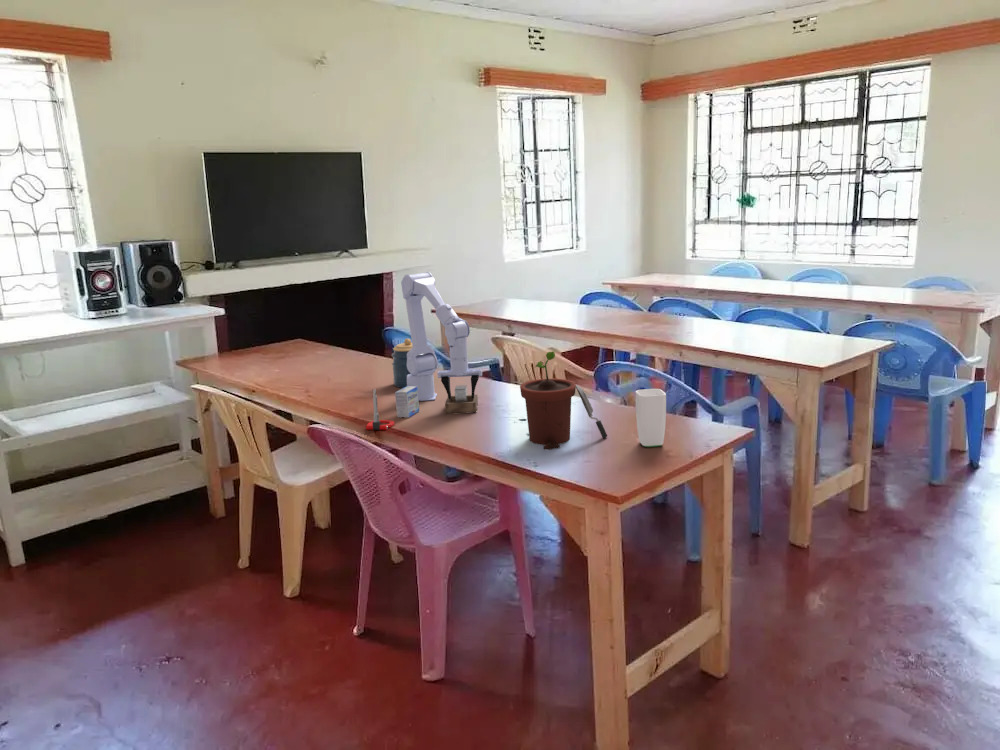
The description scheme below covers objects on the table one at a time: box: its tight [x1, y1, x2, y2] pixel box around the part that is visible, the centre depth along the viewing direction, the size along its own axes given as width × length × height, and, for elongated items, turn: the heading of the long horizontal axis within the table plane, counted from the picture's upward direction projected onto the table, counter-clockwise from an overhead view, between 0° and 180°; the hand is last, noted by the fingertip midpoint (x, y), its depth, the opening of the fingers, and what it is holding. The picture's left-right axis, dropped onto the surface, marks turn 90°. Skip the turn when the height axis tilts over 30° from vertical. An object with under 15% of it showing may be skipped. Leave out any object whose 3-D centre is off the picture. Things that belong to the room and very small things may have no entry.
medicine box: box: [394, 386, 420, 419], centre depth 256 cm, size 8×4×9 cm, turn 160°
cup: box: [635, 388, 667, 448], centre depth 214 cm, size 7×7×15 cm
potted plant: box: [519, 350, 608, 450], centre depth 221 cm, size 18×22×25 cm
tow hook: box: [365, 388, 396, 431], centre depth 245 cm, size 8×13×9 cm
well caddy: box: [444, 394, 479, 415], centre depth 260 cm, size 10×10×4 cm
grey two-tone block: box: [454, 384, 468, 402], centre depth 259 cm, size 4×5×7 cm
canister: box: [391, 338, 424, 388], centre depth 296 cm, size 13×13×18 cm
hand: (461, 397), depth 259 cm, fingers open, 7 cm apart
